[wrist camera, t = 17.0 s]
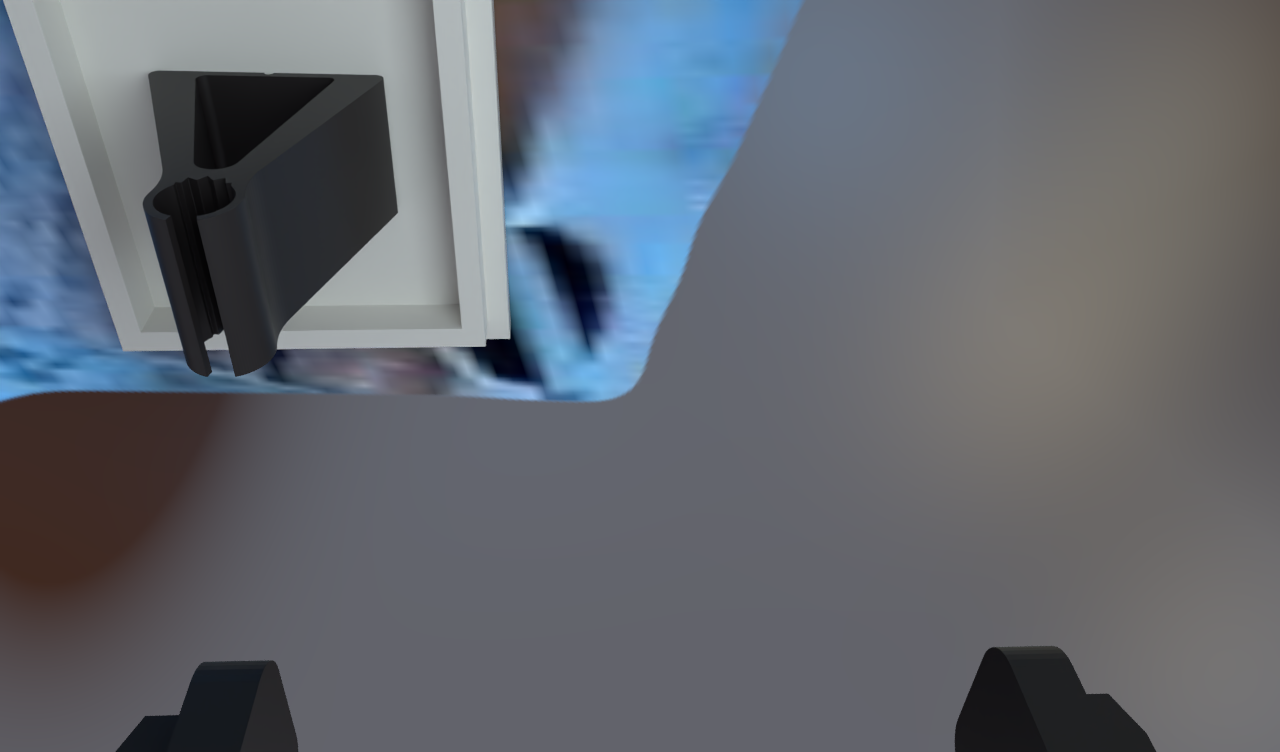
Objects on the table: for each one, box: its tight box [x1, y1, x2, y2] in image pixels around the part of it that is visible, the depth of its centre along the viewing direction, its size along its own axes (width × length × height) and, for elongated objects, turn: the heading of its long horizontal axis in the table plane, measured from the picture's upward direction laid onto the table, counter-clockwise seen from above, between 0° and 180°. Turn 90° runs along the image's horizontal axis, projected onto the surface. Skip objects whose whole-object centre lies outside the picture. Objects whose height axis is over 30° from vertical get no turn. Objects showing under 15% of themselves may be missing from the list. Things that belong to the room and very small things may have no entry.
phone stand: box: [143, 70, 398, 377], centre depth 37 cm, size 9×6×12 cm, turn 87°
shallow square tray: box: [3, 0, 511, 351], centre depth 41 cm, size 18×20×3 cm
